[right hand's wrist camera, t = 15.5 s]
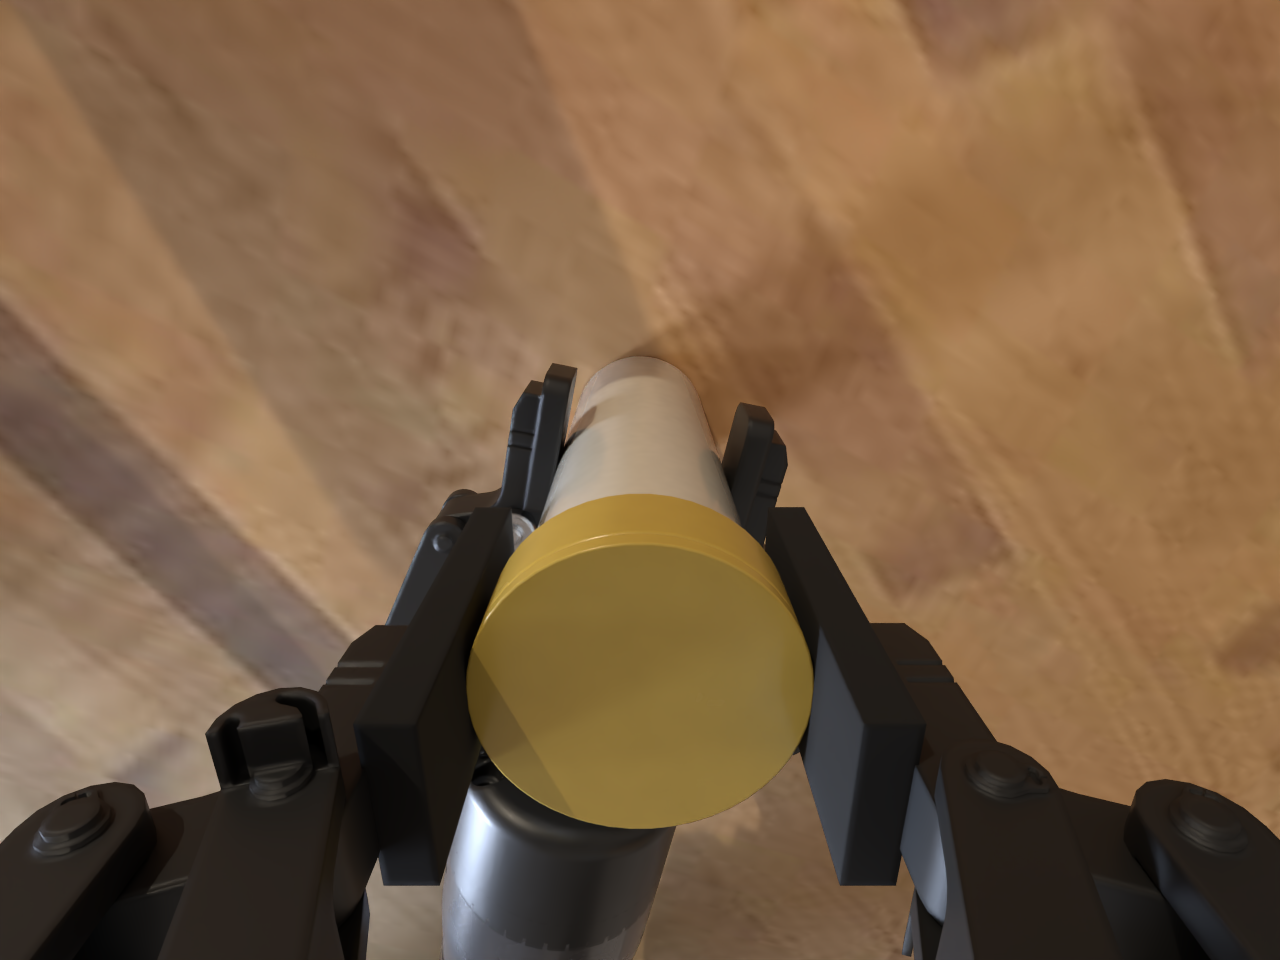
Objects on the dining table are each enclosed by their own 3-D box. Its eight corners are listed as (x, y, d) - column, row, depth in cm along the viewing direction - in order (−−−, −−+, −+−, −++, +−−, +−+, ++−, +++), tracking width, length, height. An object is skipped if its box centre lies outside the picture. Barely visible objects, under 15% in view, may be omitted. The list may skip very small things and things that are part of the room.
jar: (558, 448, 26) (460, 730, 12) (606, 335, 24) (558, 500, 10) (670, 494, 26) (706, 812, 12) (723, 386, 25) (834, 609, 11)
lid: (747, 765, 14) (764, 850, 12) (475, 723, 13) (449, 804, 11) (826, 522, 12) (860, 578, 10) (509, 464, 11) (485, 513, 9)
